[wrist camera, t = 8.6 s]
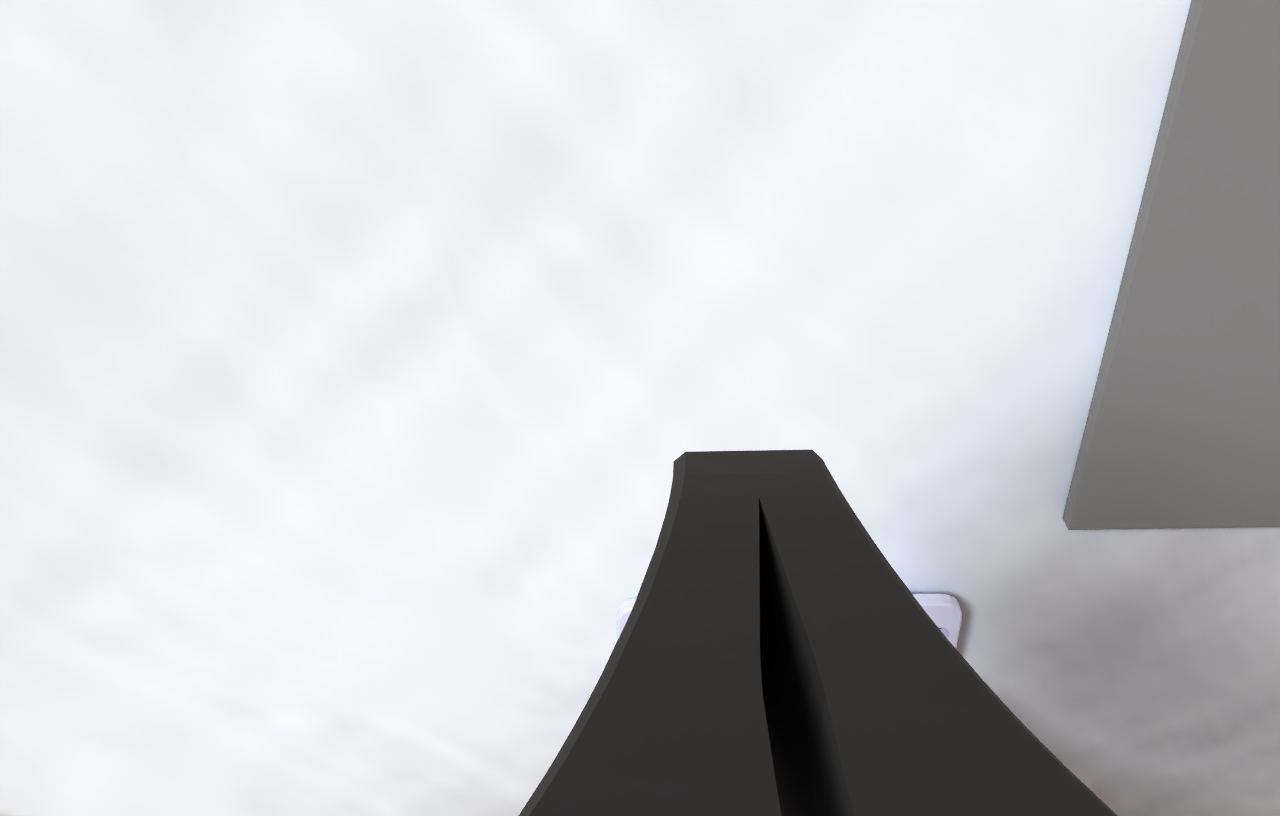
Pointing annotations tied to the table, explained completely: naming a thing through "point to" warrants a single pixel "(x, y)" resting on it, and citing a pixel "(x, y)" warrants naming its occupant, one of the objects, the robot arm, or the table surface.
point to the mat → (1198, 301)
